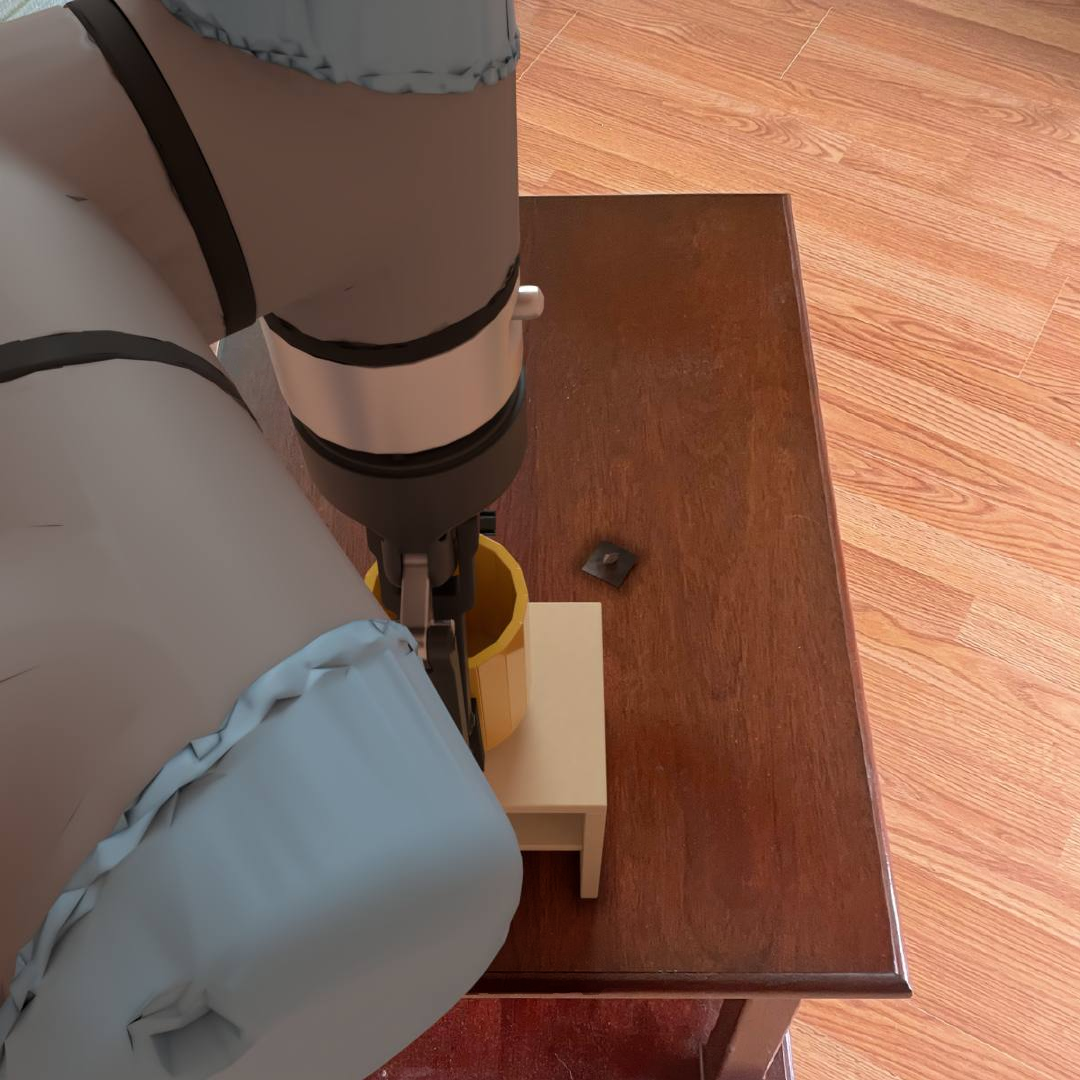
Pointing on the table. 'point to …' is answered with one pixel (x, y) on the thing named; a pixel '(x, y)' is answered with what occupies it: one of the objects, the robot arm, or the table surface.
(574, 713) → the shelf
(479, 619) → the cup
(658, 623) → the table surface
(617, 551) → the dark square tile
